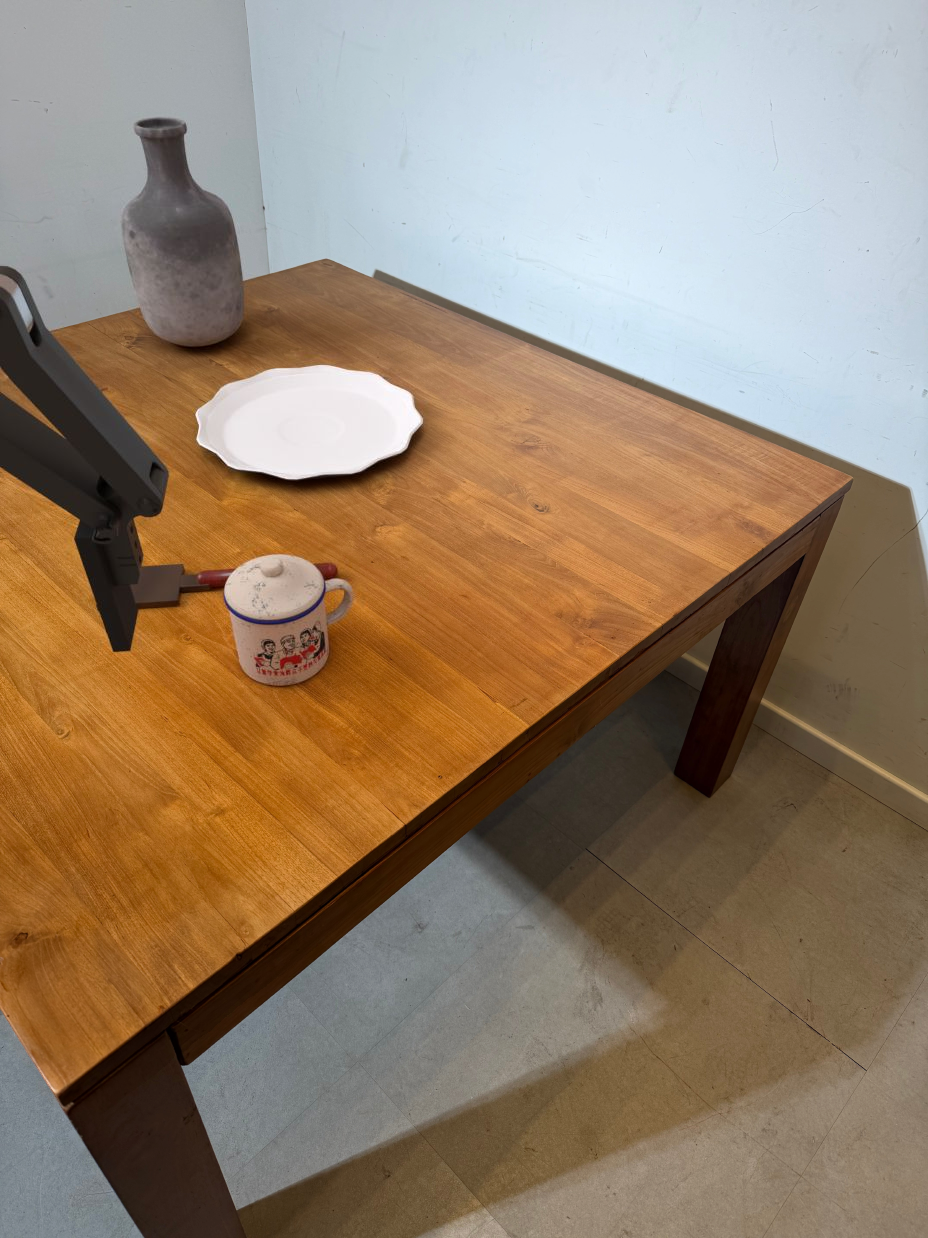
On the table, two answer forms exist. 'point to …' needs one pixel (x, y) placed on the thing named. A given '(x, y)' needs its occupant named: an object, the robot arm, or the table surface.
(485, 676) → the table surface
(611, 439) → the table surface
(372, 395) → the plate
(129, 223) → the vase
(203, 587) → the spatula
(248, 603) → the teacup with lid
